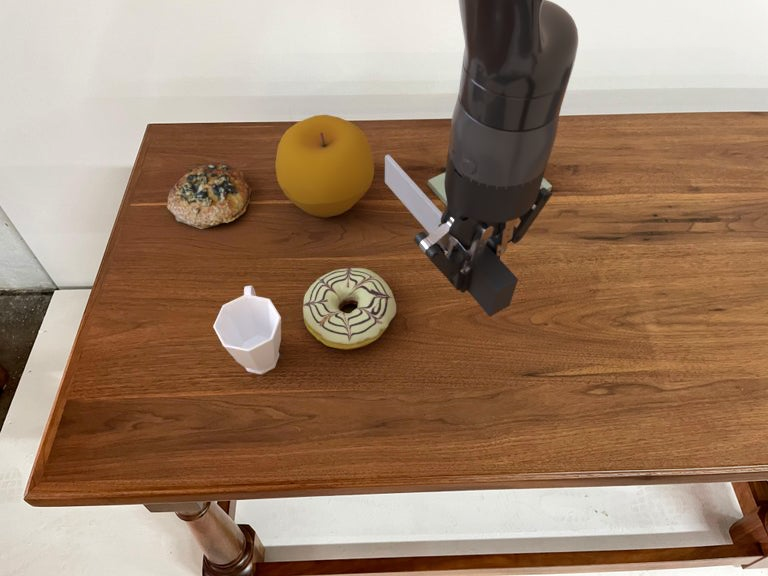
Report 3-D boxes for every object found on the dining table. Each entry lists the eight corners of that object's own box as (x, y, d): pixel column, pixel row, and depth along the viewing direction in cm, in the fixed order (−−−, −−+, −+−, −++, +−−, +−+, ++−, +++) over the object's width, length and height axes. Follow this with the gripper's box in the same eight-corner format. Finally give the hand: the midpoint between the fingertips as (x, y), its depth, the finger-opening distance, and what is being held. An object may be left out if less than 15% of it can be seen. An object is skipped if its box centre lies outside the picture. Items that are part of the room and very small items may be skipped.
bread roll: (226, 159, 87) (220, 136, 82) (268, 212, 83) (263, 190, 79) (156, 196, 83) (145, 173, 79) (197, 252, 80) (187, 232, 75)
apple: (344, 153, 88) (340, 88, 78) (393, 209, 82) (395, 145, 72) (266, 188, 84) (250, 124, 75) (311, 250, 78) (301, 188, 68)
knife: (395, 177, 67) (396, 147, 63) (509, 305, 57) (518, 279, 54) (377, 185, 66) (376, 155, 62) (489, 317, 57) (497, 291, 53)
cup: (230, 389, 67) (213, 356, 60) (228, 314, 72) (212, 275, 66) (293, 380, 68) (283, 346, 61) (286, 306, 73) (277, 267, 66)
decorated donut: (412, 312, 73) (413, 294, 69) (351, 372, 68) (350, 357, 65) (348, 266, 76) (347, 247, 73) (287, 320, 72) (283, 303, 69)
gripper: (537, 87, 49) (502, 224, 63) (393, 152, 44) (391, 283, 59) (603, 141, 45) (550, 273, 60) (453, 217, 41) (435, 340, 55)
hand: (471, 278), depth 59 cm, fingers closed on knife, 2 cm apart
